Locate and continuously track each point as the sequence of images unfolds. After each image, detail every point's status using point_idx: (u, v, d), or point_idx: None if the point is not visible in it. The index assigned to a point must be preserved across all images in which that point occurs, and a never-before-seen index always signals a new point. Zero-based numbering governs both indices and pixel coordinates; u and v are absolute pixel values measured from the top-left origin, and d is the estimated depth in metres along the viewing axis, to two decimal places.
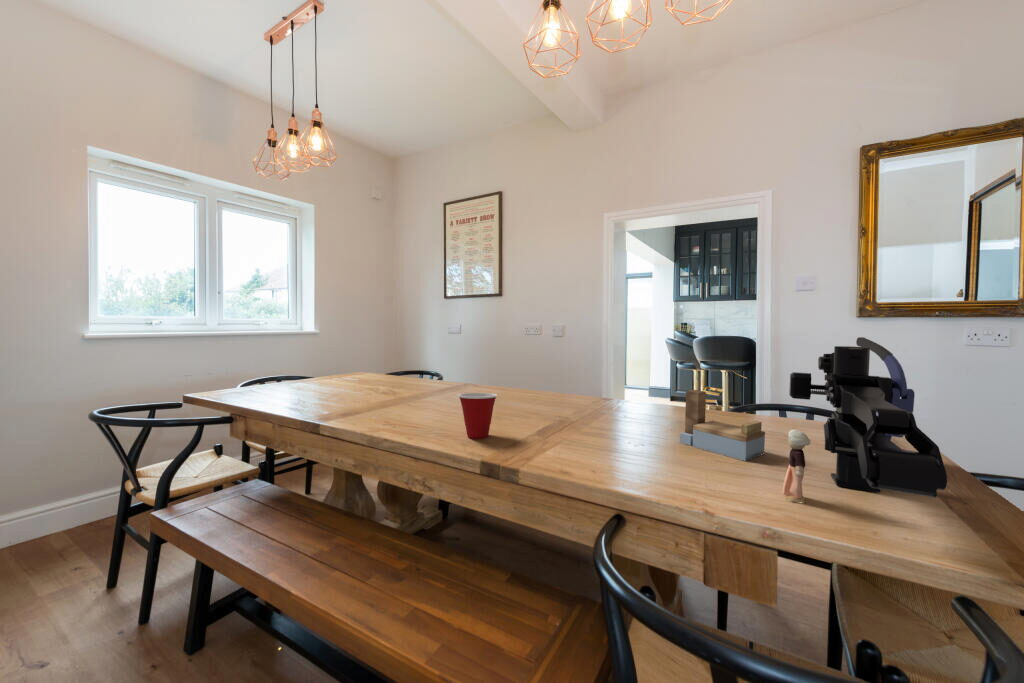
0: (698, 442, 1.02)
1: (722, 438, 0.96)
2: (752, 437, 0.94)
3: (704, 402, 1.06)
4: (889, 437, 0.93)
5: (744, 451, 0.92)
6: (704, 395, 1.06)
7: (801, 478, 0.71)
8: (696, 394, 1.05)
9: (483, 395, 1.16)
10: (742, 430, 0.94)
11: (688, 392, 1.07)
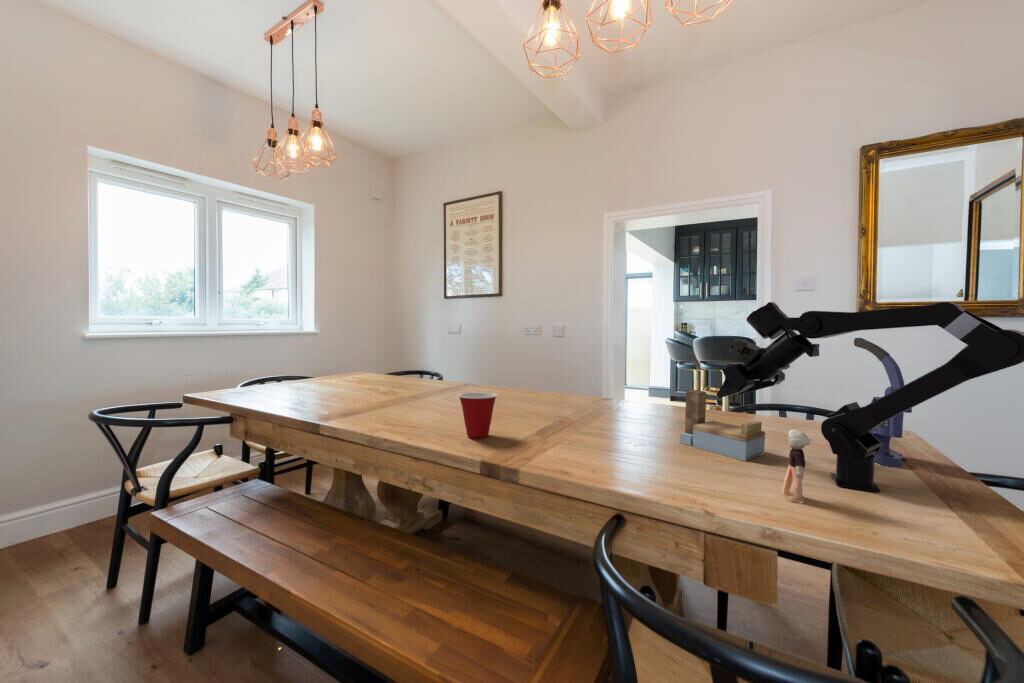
0: (698, 442, 1.02)
1: (722, 438, 0.96)
2: (752, 437, 0.94)
3: (704, 402, 1.06)
4: (888, 437, 0.93)
5: (744, 451, 0.92)
6: (704, 395, 1.06)
7: (801, 478, 0.71)
8: (696, 394, 1.05)
9: (483, 395, 1.16)
10: (742, 430, 0.94)
11: (688, 392, 1.07)
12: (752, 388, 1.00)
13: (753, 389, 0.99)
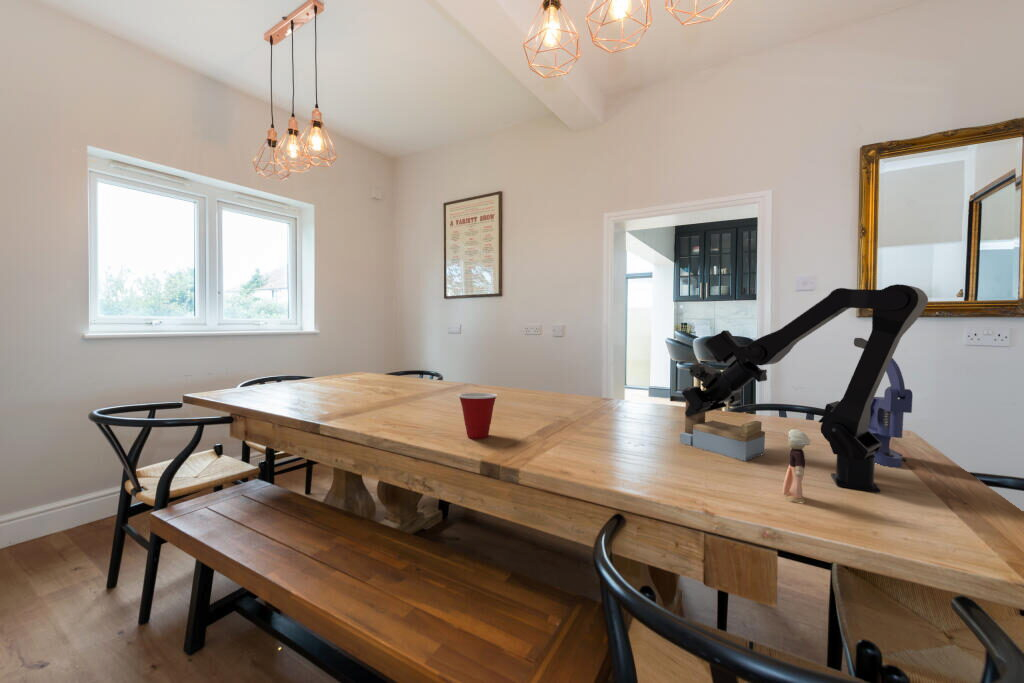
0: (698, 442, 1.02)
1: (722, 438, 0.96)
2: (752, 437, 0.94)
3: None
4: (888, 437, 0.93)
5: (744, 451, 0.92)
6: None
7: (801, 478, 0.71)
8: None
9: (483, 395, 1.16)
10: (742, 430, 0.94)
11: None
12: None
13: None
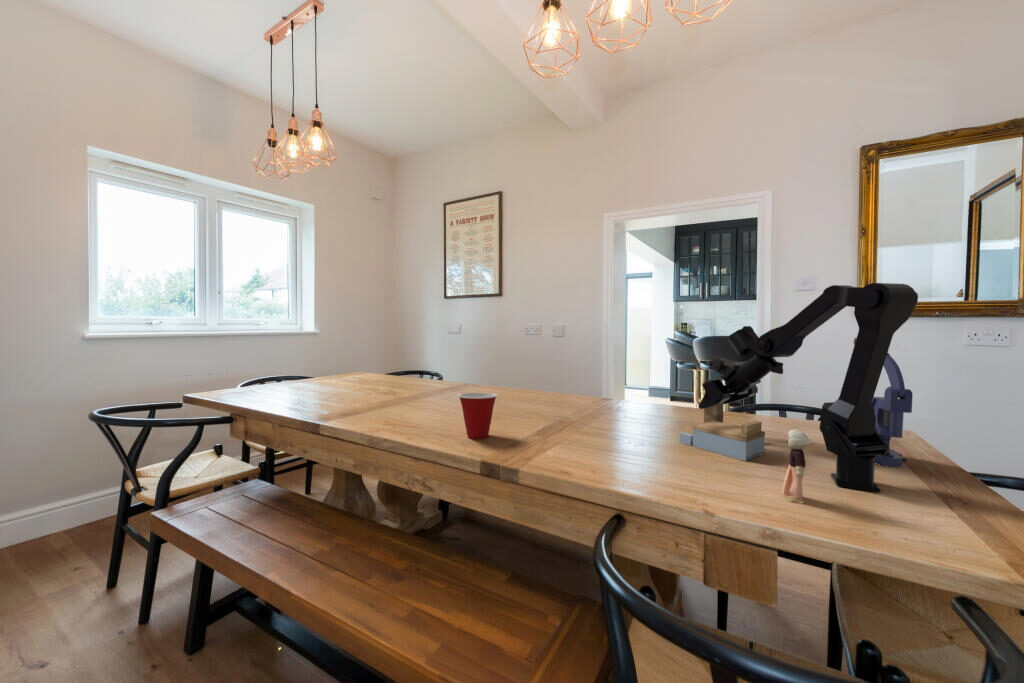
0: (698, 442, 1.02)
1: (722, 438, 0.96)
2: (752, 437, 0.94)
3: None
4: (888, 437, 0.93)
5: (744, 451, 0.92)
6: None
7: (801, 478, 0.71)
8: None
9: (483, 395, 1.16)
10: (742, 430, 0.94)
11: None
12: (730, 400, 1.13)
13: (730, 401, 1.13)
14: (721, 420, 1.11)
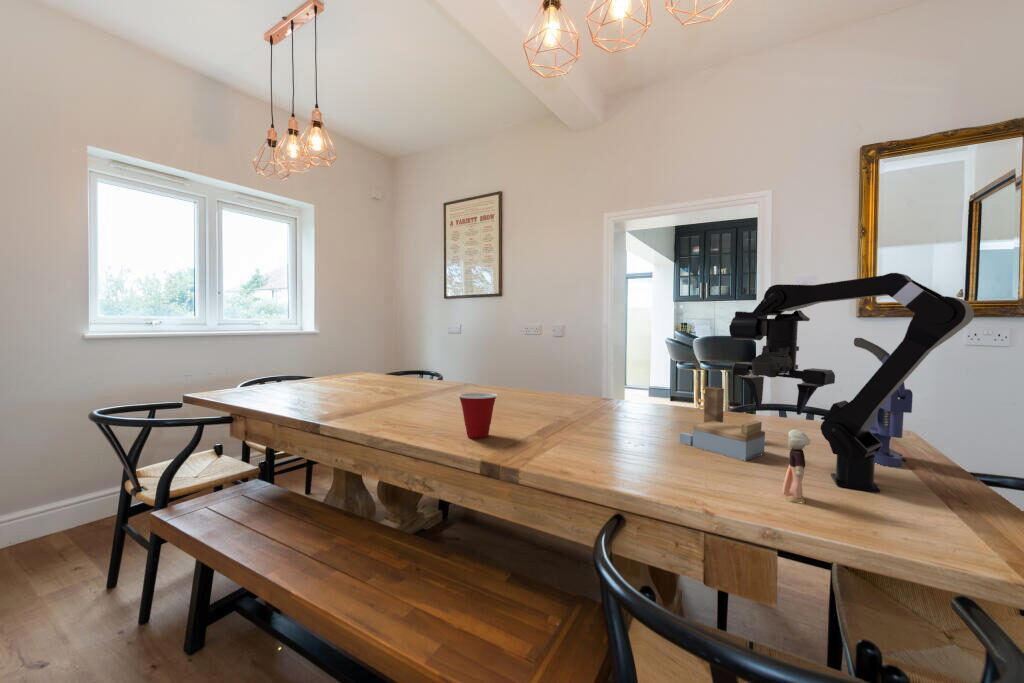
0: (698, 442, 1.02)
1: (722, 438, 0.96)
2: (752, 437, 0.94)
3: (722, 398, 1.11)
4: (888, 437, 0.93)
5: (744, 451, 0.92)
6: (722, 392, 1.11)
7: (801, 478, 0.71)
8: (715, 391, 1.10)
9: (483, 395, 1.16)
10: (742, 430, 0.94)
11: (707, 389, 1.11)
12: (761, 391, 0.94)
13: (762, 391, 0.95)
14: (721, 420, 1.11)
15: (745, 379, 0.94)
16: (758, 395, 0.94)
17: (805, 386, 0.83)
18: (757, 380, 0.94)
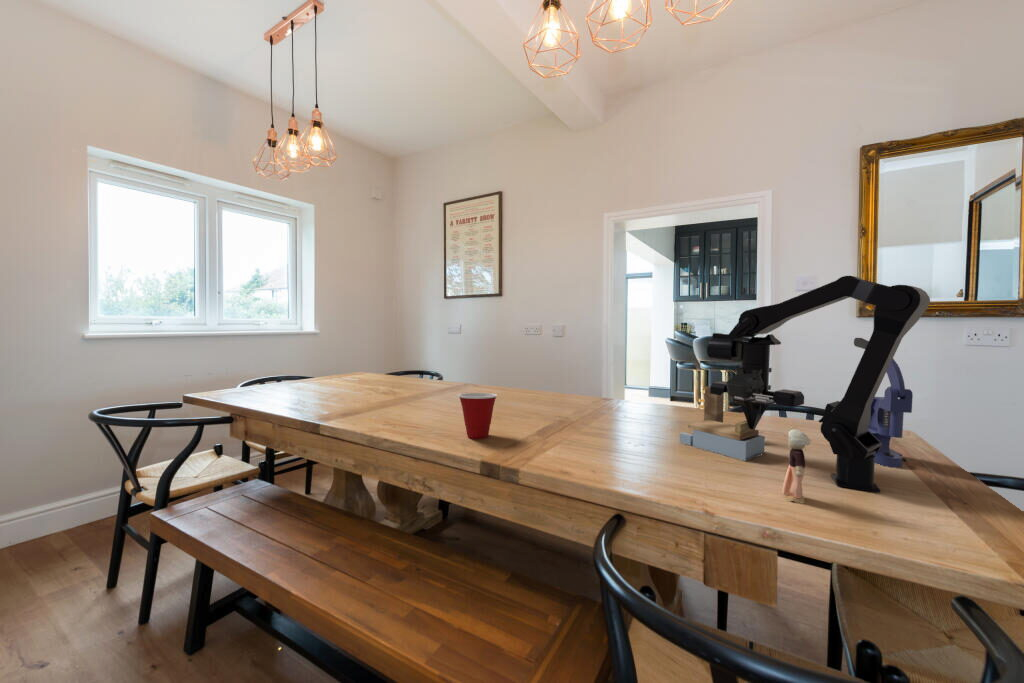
0: (698, 442, 1.02)
1: (722, 438, 0.96)
2: (745, 436, 0.95)
3: (722, 398, 1.11)
4: (888, 437, 0.93)
5: (744, 451, 0.92)
6: None
7: (801, 478, 0.71)
8: None
9: (483, 395, 1.16)
10: (736, 429, 0.95)
11: (707, 389, 1.11)
12: None
13: None
14: (721, 420, 1.11)
15: (738, 401, 0.95)
16: (751, 417, 0.95)
17: (757, 404, 0.91)
18: (750, 402, 0.95)
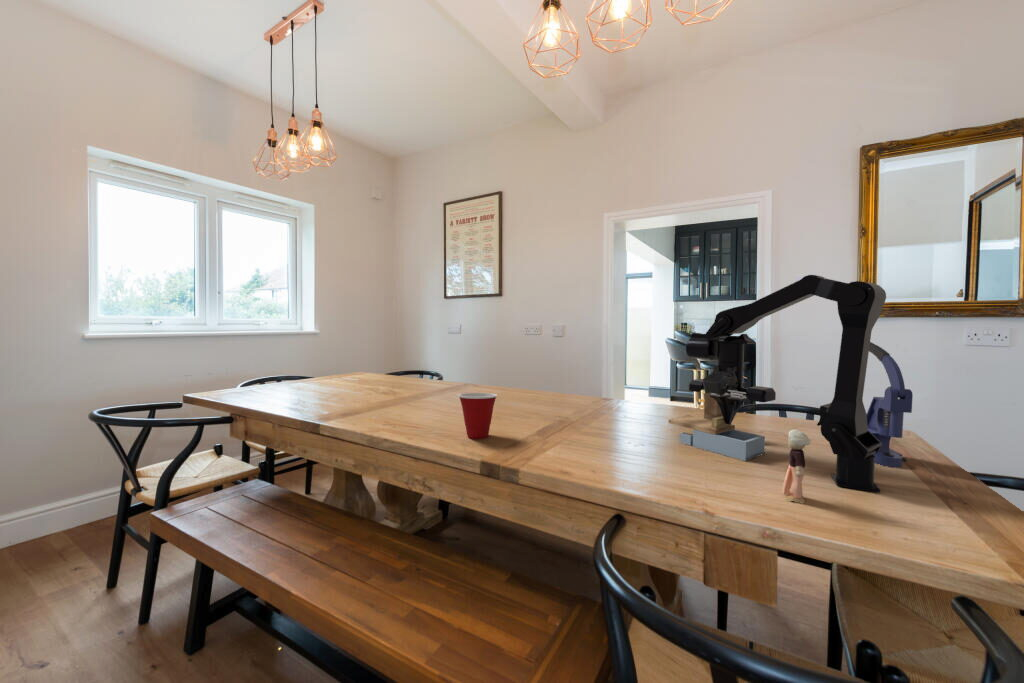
0: (698, 442, 1.02)
1: (722, 438, 0.96)
2: (721, 430, 0.99)
3: None
4: (888, 437, 0.93)
5: (744, 451, 0.92)
6: None
7: (801, 478, 0.71)
8: None
9: (483, 395, 1.16)
10: (712, 423, 0.99)
11: None
12: None
13: None
14: None
15: (714, 397, 1.00)
16: None
17: (732, 400, 0.96)
18: (726, 398, 1.00)
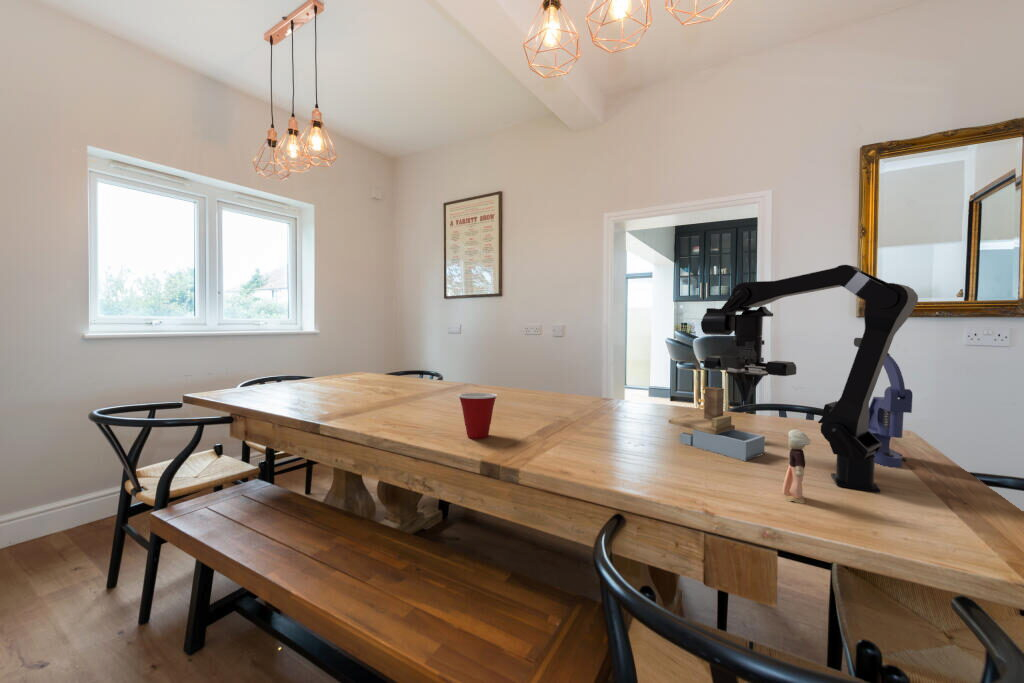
0: (698, 442, 1.02)
1: (722, 438, 0.96)
2: (721, 430, 0.99)
3: (722, 398, 1.11)
4: (888, 437, 0.93)
5: (744, 451, 0.92)
6: (722, 392, 1.11)
7: (801, 478, 0.71)
8: (715, 391, 1.10)
9: (483, 395, 1.16)
10: (712, 423, 0.99)
11: (707, 389, 1.11)
12: None
13: None
14: None
15: (731, 373, 0.96)
16: (744, 389, 0.96)
17: (750, 375, 0.92)
18: (743, 374, 0.96)
